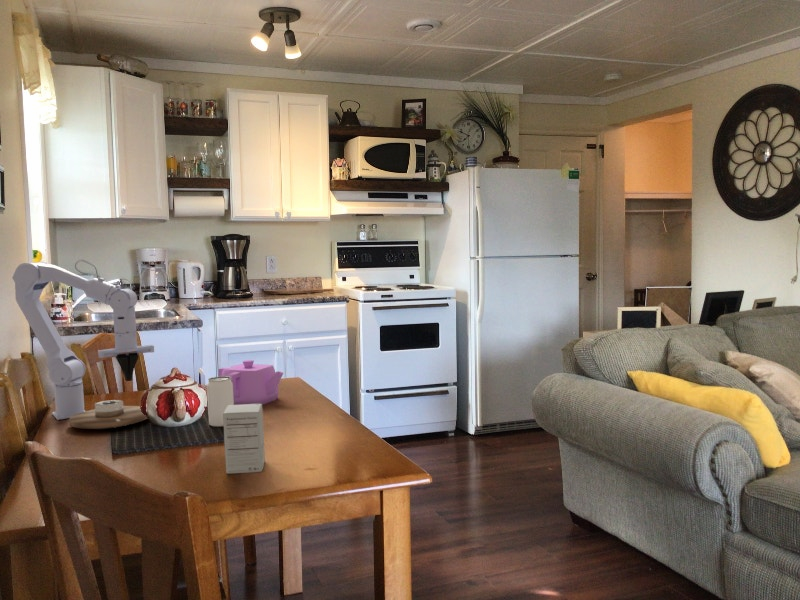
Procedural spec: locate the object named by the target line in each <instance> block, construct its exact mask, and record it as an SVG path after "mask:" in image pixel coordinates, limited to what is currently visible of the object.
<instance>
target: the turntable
mask: <svg viewBox="0 0 800 600" xmlns="http://www.w3.org/2000/svg"><path fill="white" fill-rule="evenodd" d="M123 408H124V414H123V415H120V416H117V417H111V418H97V417H95V408H94V409H89V410H85V412H81V413H78V414H76V415H73V416H72V417H70V418H68V421H69V423H68V424H69V426H71V427H73V428H76V429H84V430H85V429H88V430H93V429H98V428H110V427H118V426H124V425H129V424H131V425H133V424H136V423H139V422H143V421H146V420H148V418H147V417H146V415H144V414H143V413H142V412H141V409H140V405H123ZM129 426H130V425H129Z"/></svg>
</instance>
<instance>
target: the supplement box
mask: <svg viewBox="0 0 800 600" xmlns="http://www.w3.org/2000/svg"><path fill="white" fill-rule="evenodd" d="M223 423H224V427H223V439H224V457H225V472H226V474H247V473H248V474H249V473H261V472H263V468H264V466H265V462H266V456H265V455H266V454H265V453H266V451H265V433H264V415H263V405H262V404H242V405H228V406H227V408H226V410H225V411H224V413H223Z"/></svg>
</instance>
